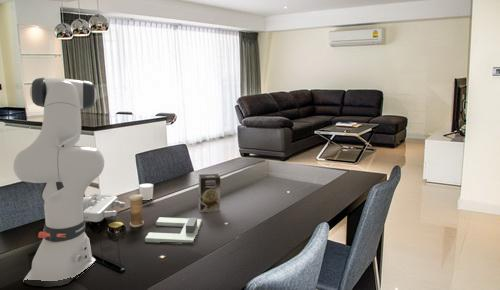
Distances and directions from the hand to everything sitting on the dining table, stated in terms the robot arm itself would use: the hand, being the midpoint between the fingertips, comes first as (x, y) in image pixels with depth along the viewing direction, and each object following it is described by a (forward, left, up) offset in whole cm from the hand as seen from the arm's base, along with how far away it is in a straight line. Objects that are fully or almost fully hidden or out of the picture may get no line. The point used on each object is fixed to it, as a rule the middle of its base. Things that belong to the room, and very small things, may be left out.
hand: (120, 209), depth 161 cm
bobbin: (0, -6, -7) cm, 9 cm away
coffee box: (+20, -33, -7) cm, 40 cm away
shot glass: (+30, -1, -7) cm, 31 cm away
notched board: (-5, -23, -7) cm, 25 cm away
